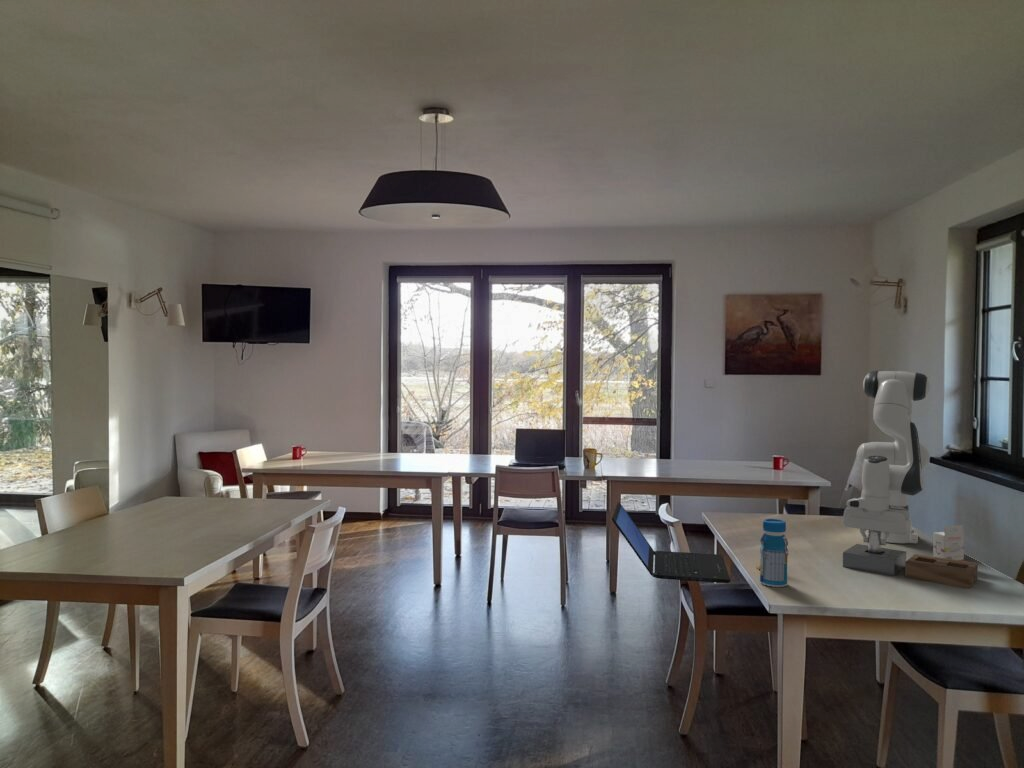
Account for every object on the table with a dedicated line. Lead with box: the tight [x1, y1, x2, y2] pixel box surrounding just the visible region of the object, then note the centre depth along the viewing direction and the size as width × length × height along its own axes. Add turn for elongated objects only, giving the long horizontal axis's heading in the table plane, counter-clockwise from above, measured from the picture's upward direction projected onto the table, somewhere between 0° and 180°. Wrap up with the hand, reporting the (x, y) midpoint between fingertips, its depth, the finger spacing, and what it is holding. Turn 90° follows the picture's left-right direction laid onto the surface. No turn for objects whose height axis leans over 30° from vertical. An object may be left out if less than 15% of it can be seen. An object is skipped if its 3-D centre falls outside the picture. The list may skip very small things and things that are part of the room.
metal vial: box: [867, 530, 882, 555], centre depth 245 cm, size 4×4×12 cm
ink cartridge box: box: [932, 524, 965, 561], centre depth 245 cm, size 9×5×15 cm, turn 105°
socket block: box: [842, 543, 907, 576], centre depth 244 cm, size 16×16×5 cm
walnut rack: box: [904, 553, 979, 589], centre depth 231 cm, size 14×18×5 cm
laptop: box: [611, 501, 731, 584], centre depth 242 cm, size 33×38×19 cm
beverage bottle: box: [759, 518, 789, 588], centre depth 223 cm, size 8×8×20 cm
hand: (874, 543), depth 245 cm, fingers closed on metal vial, 4 cm apart
